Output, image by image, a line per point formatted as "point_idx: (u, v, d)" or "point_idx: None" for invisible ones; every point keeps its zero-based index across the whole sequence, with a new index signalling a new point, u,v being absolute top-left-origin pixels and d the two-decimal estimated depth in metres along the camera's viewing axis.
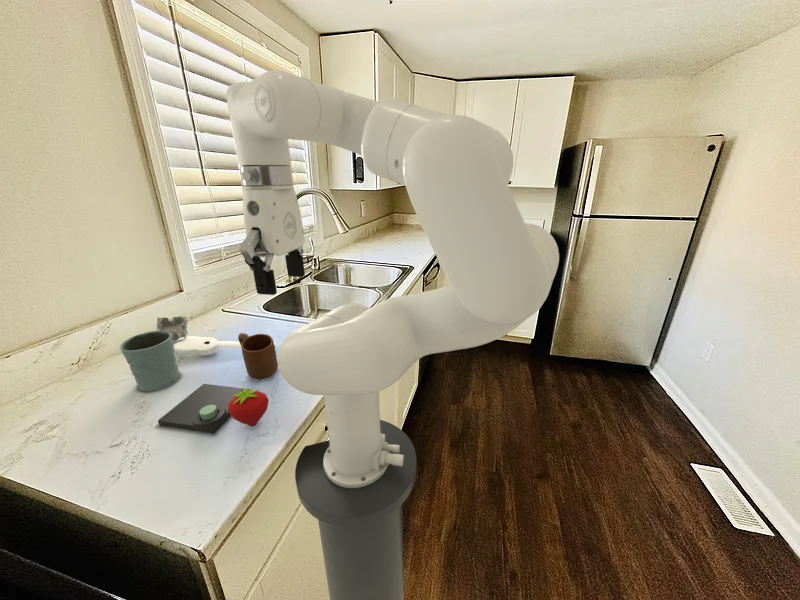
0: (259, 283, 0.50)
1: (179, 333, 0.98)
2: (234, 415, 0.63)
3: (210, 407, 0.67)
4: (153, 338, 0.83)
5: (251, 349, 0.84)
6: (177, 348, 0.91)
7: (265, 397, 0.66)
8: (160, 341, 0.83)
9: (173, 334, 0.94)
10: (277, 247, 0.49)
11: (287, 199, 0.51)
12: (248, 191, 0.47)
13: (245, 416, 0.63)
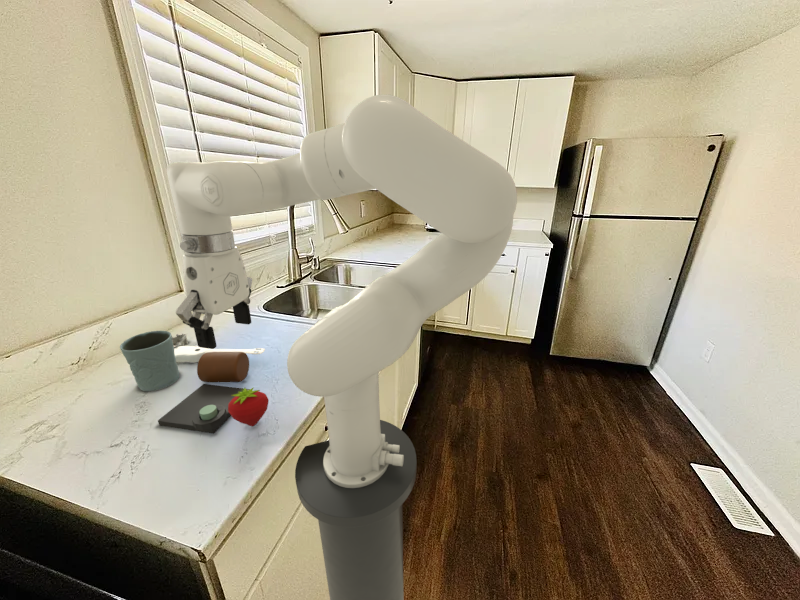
0: (198, 338, 0.54)
1: None
2: (234, 415, 0.63)
3: (210, 407, 0.67)
4: (153, 338, 0.83)
5: None
6: None
7: (265, 397, 0.66)
8: (160, 341, 0.83)
9: None
10: (215, 307, 0.53)
11: (228, 260, 0.55)
12: (187, 258, 0.51)
13: (245, 416, 0.63)
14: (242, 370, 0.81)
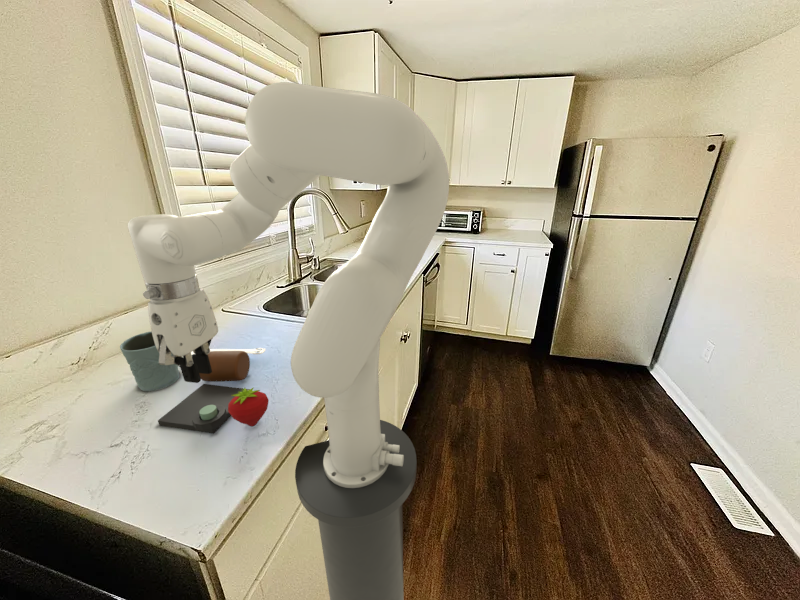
0: (184, 374, 0.60)
1: None
2: (234, 415, 0.63)
3: (210, 407, 0.67)
4: None
5: None
6: None
7: (265, 397, 0.66)
8: None
9: None
10: (181, 349, 0.56)
11: (193, 303, 0.58)
12: (151, 305, 0.53)
13: (245, 416, 0.63)
14: (243, 369, 0.82)
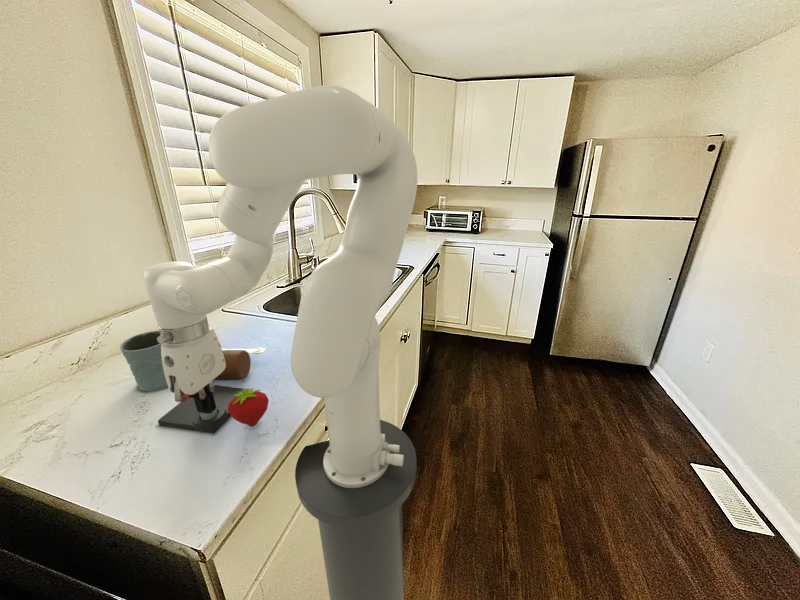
0: (197, 406, 0.64)
1: None
2: (234, 415, 0.63)
3: None
4: (153, 337, 0.83)
5: None
6: None
7: (265, 397, 0.66)
8: None
9: None
10: (192, 389, 0.59)
11: (203, 344, 0.61)
12: (164, 348, 0.56)
13: (245, 416, 0.63)
14: (243, 368, 0.82)
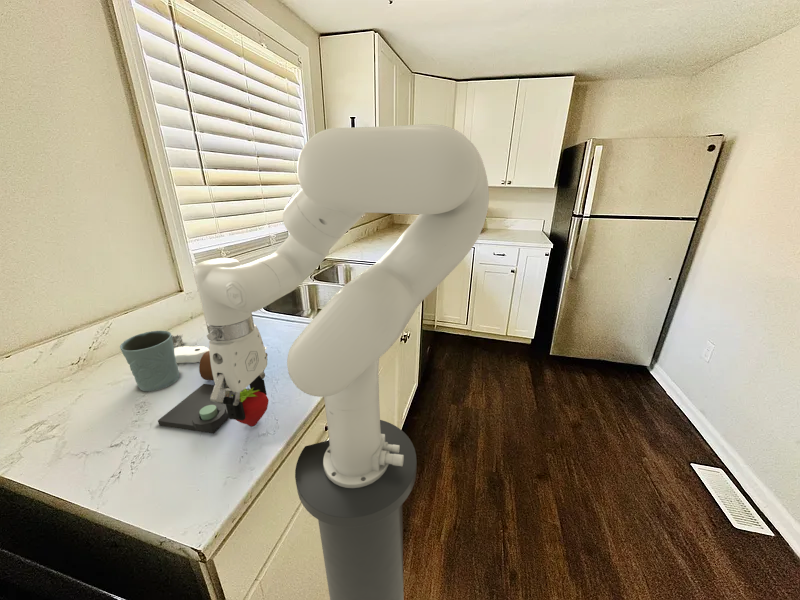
0: (230, 413, 0.61)
1: None
2: None
3: (210, 407, 0.67)
4: (153, 337, 0.83)
5: None
6: None
7: (265, 397, 0.66)
8: (160, 341, 0.83)
9: None
10: (239, 386, 0.58)
11: (249, 341, 0.60)
12: (213, 345, 0.56)
13: None
14: None
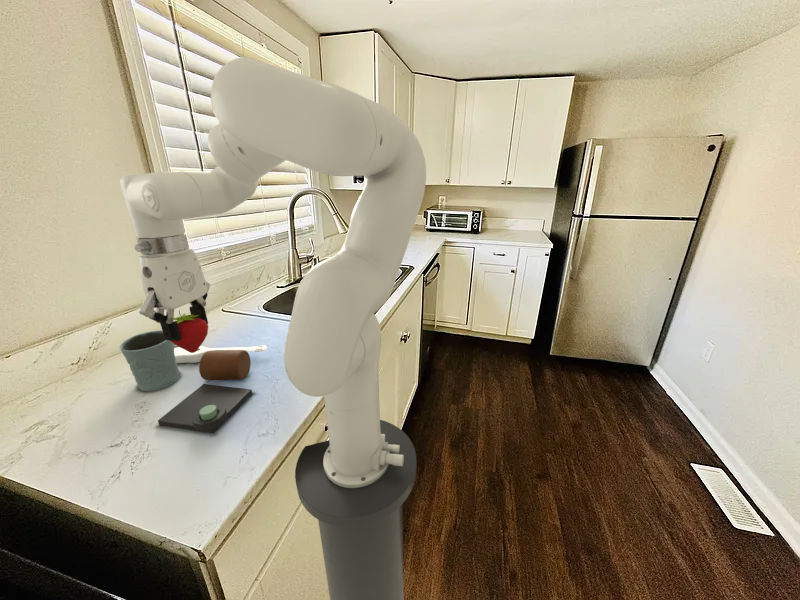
0: (164, 332, 0.62)
1: None
2: None
3: (210, 407, 0.67)
4: (153, 338, 0.83)
5: None
6: None
7: (203, 322, 0.67)
8: (160, 341, 0.83)
9: None
10: (171, 302, 0.59)
11: (182, 260, 0.61)
12: (142, 258, 0.57)
13: (181, 338, 0.64)
14: (243, 368, 0.82)
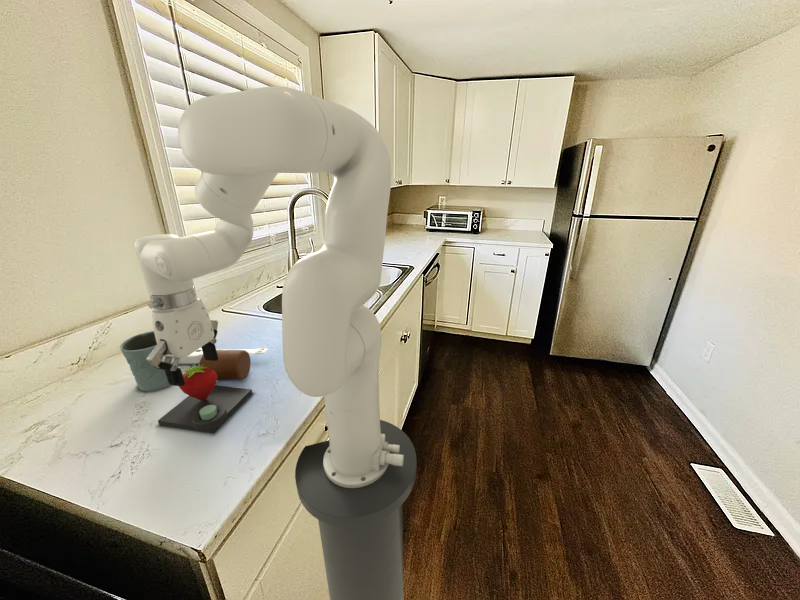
0: (168, 378, 0.65)
1: None
2: (183, 389, 0.69)
3: (210, 407, 0.67)
4: (153, 338, 0.83)
5: None
6: None
7: (213, 373, 0.72)
8: None
9: None
10: (181, 352, 0.64)
11: (191, 312, 0.65)
12: (155, 313, 0.61)
13: (193, 390, 0.69)
14: (243, 368, 0.82)
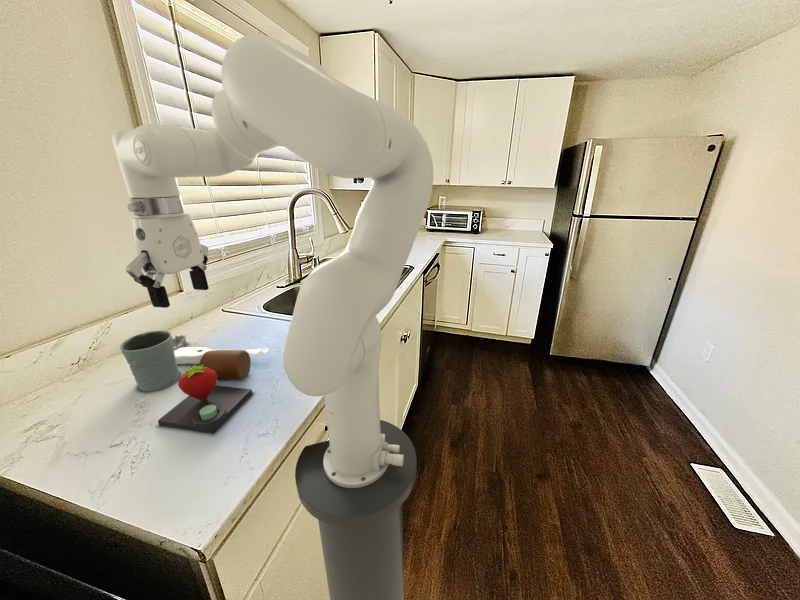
0: (151, 297, 0.58)
1: None
2: (183, 389, 0.69)
3: (210, 407, 0.67)
4: (153, 338, 0.83)
5: None
6: None
7: (213, 373, 0.72)
8: (160, 341, 0.83)
9: None
10: (165, 267, 0.57)
11: (177, 224, 0.59)
12: (135, 220, 0.55)
13: (193, 390, 0.69)
14: (243, 368, 0.82)
